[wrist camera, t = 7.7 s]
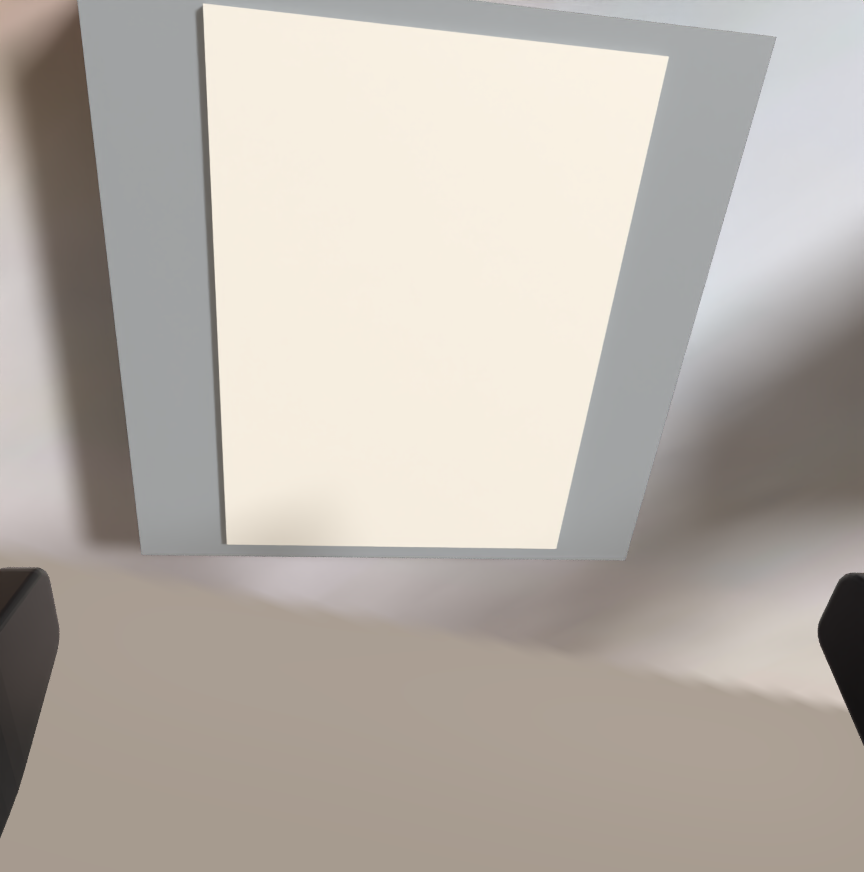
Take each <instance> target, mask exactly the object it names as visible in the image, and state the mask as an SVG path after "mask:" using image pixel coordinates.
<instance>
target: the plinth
mask: <svg viewBox="0 0 864 872" xmlns="http://www.w3.org/2000/svg"><path fill="white" fill-rule="evenodd" d="M77 1H78V10H79V18H80V27H81V36H82V44H83V53H84V61H85V70H86V79H87V87H88V96H89V105H90V113H91V122H92V131H93V139H94V148H95V157H96V165H97V174H98V182H99V191H100V200H101V208H102V217H103V226H104V234H105V243H106V252H107V260H108V269H109V278H110V286H111V295H112V303H113V312H114V321H115V329H116V338H117V347H118V355H119V364H120V373H121V381H122V390H123V399H124V407H125V416H126V425H127V433H128V442H129V450H130V459H131V468H132V476H133V485H134V494H135V502H136V511H137V520H138V528H139V537H140V546H141V554H142V555H189V556H278V557H367V558H455V559H544V560H625V559H626V556H627V553H628V549H629V546H630V542H631V539H632V535H633V532H634V528H635V525H636V521H637V518H638V515H639V511H640V508H641V504H642V501H643V497H644V494H645V490H646V487H647V483H648V480H649V476H650V473H651V470H652V466H653V463H654V459H655V456H656V452H657V449H658V445H659V442H660V438H661V435H662V432H663V428H664V425H665V421H666V418H667V414H668V411H669V407H670V404H671V400H672V397H673V393H674V390H675V387H676V383H677V380H678V376H679V373H680V369H681V366H682V362H683V359H684V355H685V352H686V348H687V345H688V342H689V338H690V335H691V331H692V328H693V324H694V321H695V317H696V314H697V310H698V307H699V304H700V300H701V297H702V293H703V290H704V286H705V283H706V279H707V276H708V272H709V269H710V265H711V262H712V259H713V255H714V252H715V248H716V245H717V241H718V238H719V234H720V231H721V227H722V224H723V221H724V217H725V214H726V210H727V207H728V203H729V200H730V196H731V193H732V189H733V186H734V182H735V179H736V176H737V172H738V169H739V165H740V162H741V158H742V155H743V151H744V148H745V144H746V141H747V138H748V134H749V131H750V127H751V124H752V120H753V117H754V113H755V110H756V106H757V103H758V99H759V96H760V93H761V89H762V86H763V82H764V79H765V75H766V72H767V68H768V65H769V61H770V58H771V55H772V51H773V48H774V44H775V41H776V37H773V36H765V35H757V34H748V33H740V32H732V31H723V30H715V29H707V28H699V27H690V26H682V25H674V24H665V23H657V22H649V21H641V20H632V19H624V18H616V17H607V16H599V15H591V14H583V13H574V12H566V11H558V10H549V9H541V8H533V7H524V6H516V5H508V4H500V3H491V2H483V1H475V0H77Z"/></svg>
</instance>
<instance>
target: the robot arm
mask: <svg viewBox="0 0 864 872" xmlns="http://www.w3.org/2000/svg"><path fill="white" fill-rule="evenodd" d="M818 638H819V643H820V646H821V648H822V650H823V653H824V655H825V657H826V660H827V662H828V664H829V666H830V669H831V671H832V673H833V676H834V678H835V680H836V683H837V685H838V687H839V690H840V692H841V694H842V697H843V699H844V701H845V703H846V706H847V708H848V710H849V713H850V715H851V717H852V720H853V722H854V724H855V727H856V729H857V731H858V733H859V736H860V738H861V740H862V743H863V745H864V573H849V574H846V575H844V576H843V577H842V578H841V579H840V580H839V581H838V583H837V585H836V587H835V589H834V591H833V594H832V596H831V598H830V600H829V602H828V604H827V606H826V608H825V610H824V613H823V615H822V617H821V619H820V621H819V624H818ZM58 644H59V624H58V619H57V614H56V609H55V604H54V598H53V593H52V588H51V584H50V580H49V576H48V574H47V573H46V571H44V570H43V569H41V568H35V567H7V568H1V569H0V837H1V834H2V832H3V830H4V827H5V824H6V822H7V819H8V817H9V815H10V812H11V809H12V806H13V804H14V801H15V798H16V795H17V793H18V790H19V787H20V783H21V780H22V777H23V773H24V770H25V766H26V763H27V759H28V756H29V752H30V748H31V745H32V741H33V737H34V734H35V730H36V727H37V723H38V719H39V716H40V712H41V708H42V705H43V701H44V697H45V693H46V690H47V686H48V683H49V679H50V675H51V672H52V668H53V665H54V661H55V657H56V654H57V649H58Z"/></svg>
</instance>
